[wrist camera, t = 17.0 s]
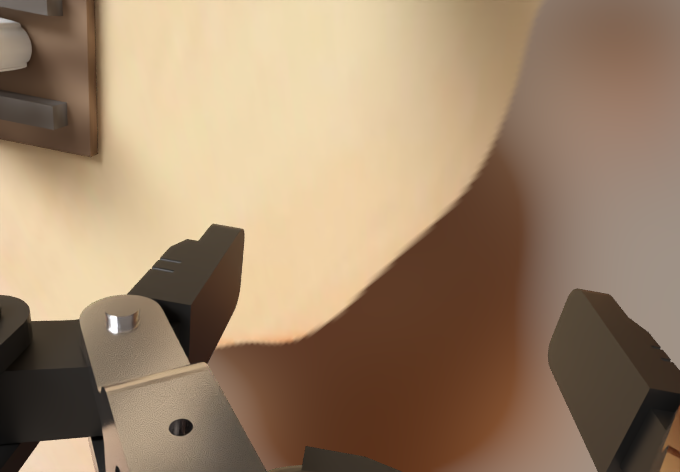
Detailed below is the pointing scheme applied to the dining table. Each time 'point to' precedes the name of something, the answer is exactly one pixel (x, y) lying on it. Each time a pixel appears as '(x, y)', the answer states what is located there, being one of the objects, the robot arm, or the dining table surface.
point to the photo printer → (13, 46)
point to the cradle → (52, 77)
